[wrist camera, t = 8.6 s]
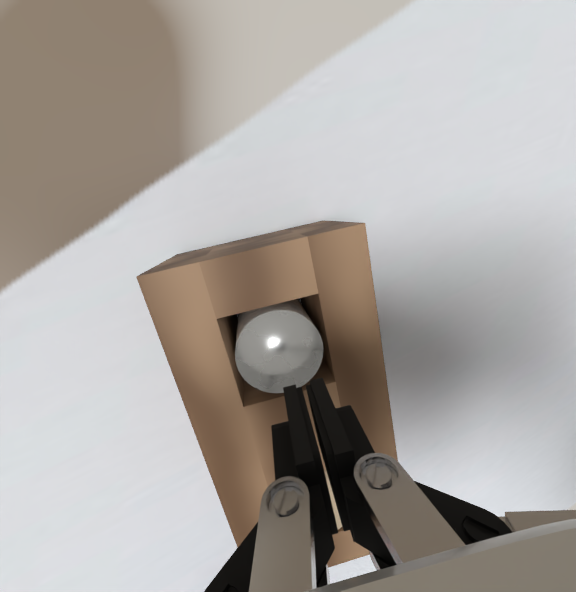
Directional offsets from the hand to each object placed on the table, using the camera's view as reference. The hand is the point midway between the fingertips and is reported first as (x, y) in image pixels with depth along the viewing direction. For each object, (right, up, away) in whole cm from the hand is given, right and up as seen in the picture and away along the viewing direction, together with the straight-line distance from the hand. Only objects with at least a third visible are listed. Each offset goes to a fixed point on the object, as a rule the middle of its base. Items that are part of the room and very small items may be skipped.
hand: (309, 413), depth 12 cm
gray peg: (-3, +4, +13) cm, 14 cm away
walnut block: (-1, -2, +15) cm, 15 cm away
